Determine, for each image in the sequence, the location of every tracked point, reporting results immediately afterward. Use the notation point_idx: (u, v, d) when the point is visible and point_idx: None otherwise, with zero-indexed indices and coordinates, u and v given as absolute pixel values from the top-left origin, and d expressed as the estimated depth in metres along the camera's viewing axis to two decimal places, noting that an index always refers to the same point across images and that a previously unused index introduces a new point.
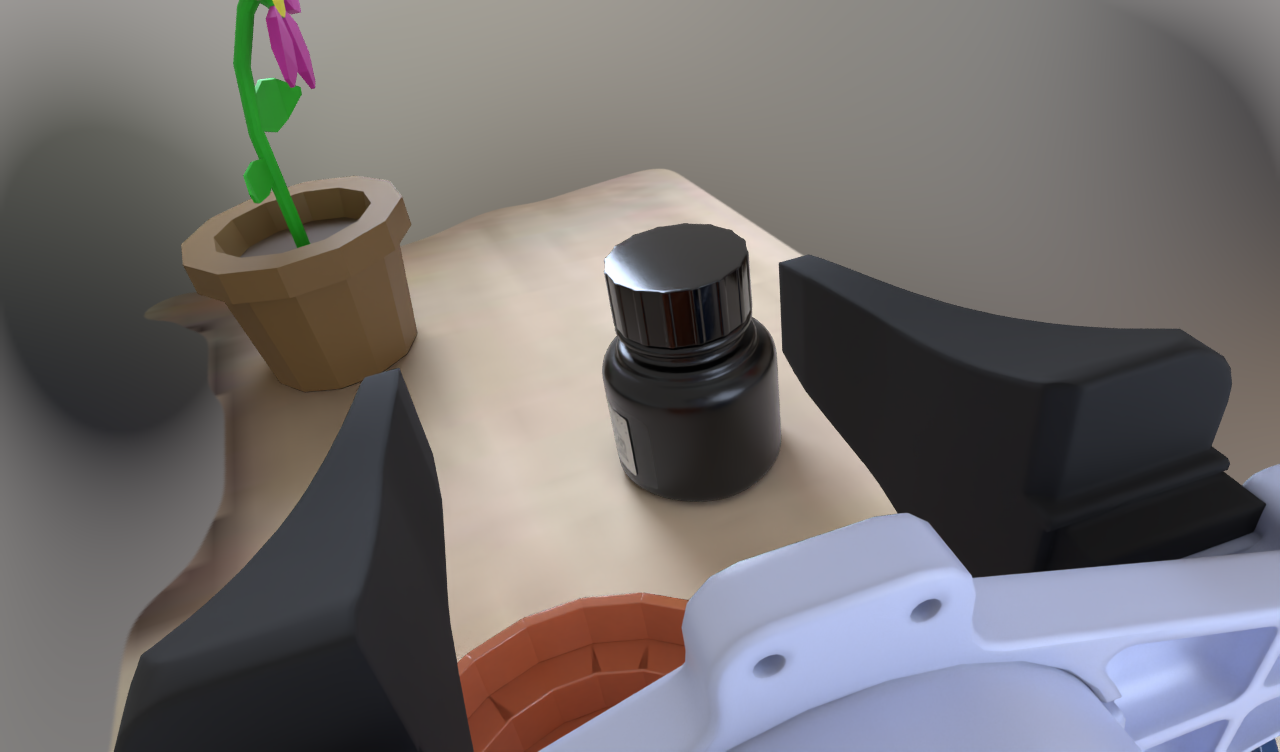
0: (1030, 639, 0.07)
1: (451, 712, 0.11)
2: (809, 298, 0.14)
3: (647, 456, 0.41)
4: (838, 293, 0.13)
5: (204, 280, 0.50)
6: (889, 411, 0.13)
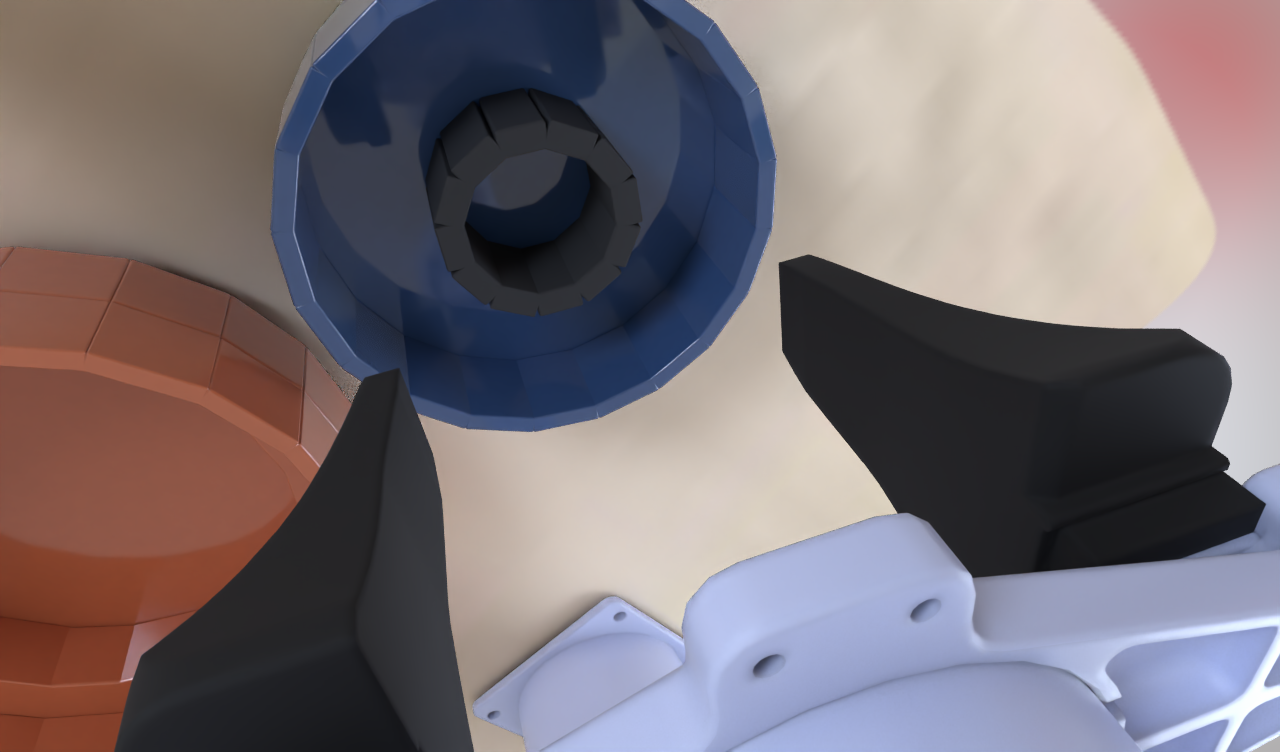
0: (1030, 637, 0.07)
1: (451, 712, 0.11)
2: (809, 298, 0.14)
3: None
4: (838, 293, 0.13)
5: None
6: (889, 411, 0.13)
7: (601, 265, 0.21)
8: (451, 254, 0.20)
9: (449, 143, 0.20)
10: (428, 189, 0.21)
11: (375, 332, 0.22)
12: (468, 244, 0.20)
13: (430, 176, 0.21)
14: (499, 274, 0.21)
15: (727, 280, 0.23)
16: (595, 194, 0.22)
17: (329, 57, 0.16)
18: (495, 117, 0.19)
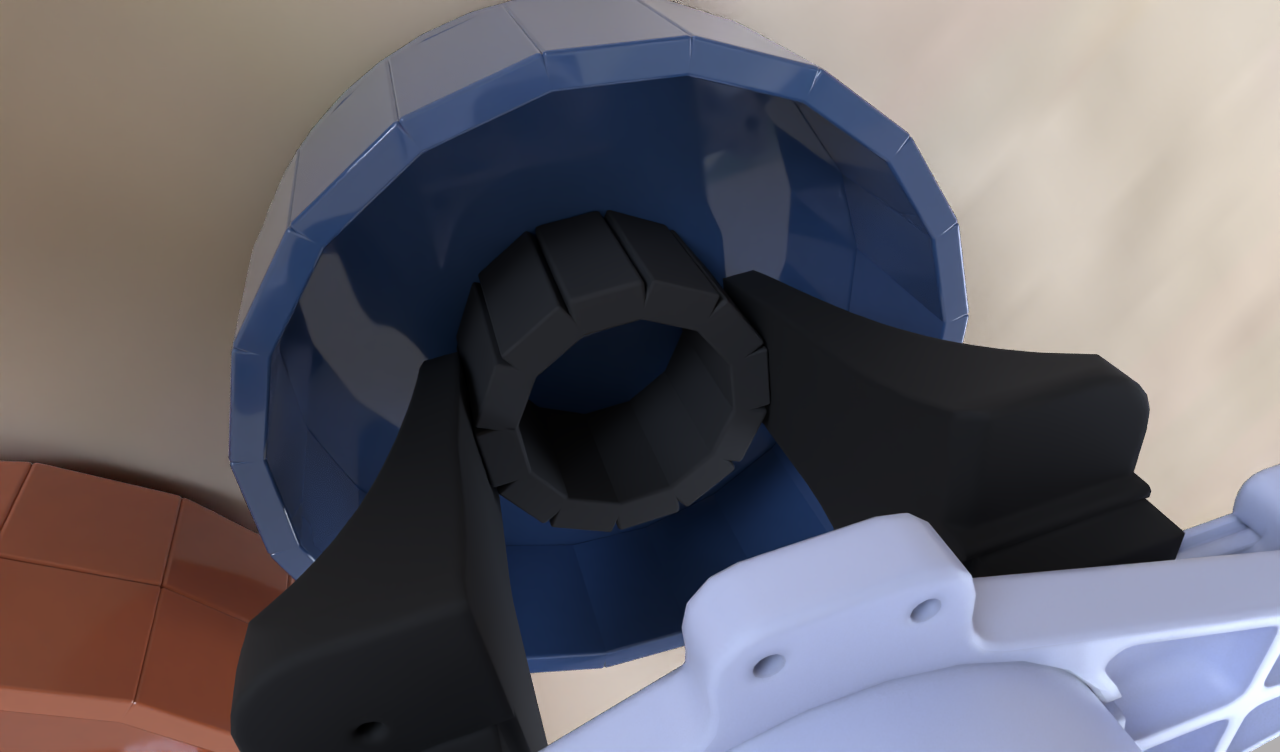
0: (1029, 637, 0.07)
1: (526, 686, 0.11)
2: (750, 315, 0.14)
3: None
4: (774, 311, 0.13)
5: None
6: (824, 431, 0.13)
7: (708, 462, 0.15)
8: (498, 465, 0.13)
9: (495, 301, 0.13)
10: (462, 358, 0.14)
11: None
12: (523, 450, 0.13)
13: (464, 338, 0.14)
14: (562, 471, 0.15)
15: None
16: (692, 348, 0.16)
17: (318, 214, 0.10)
18: (566, 270, 0.13)
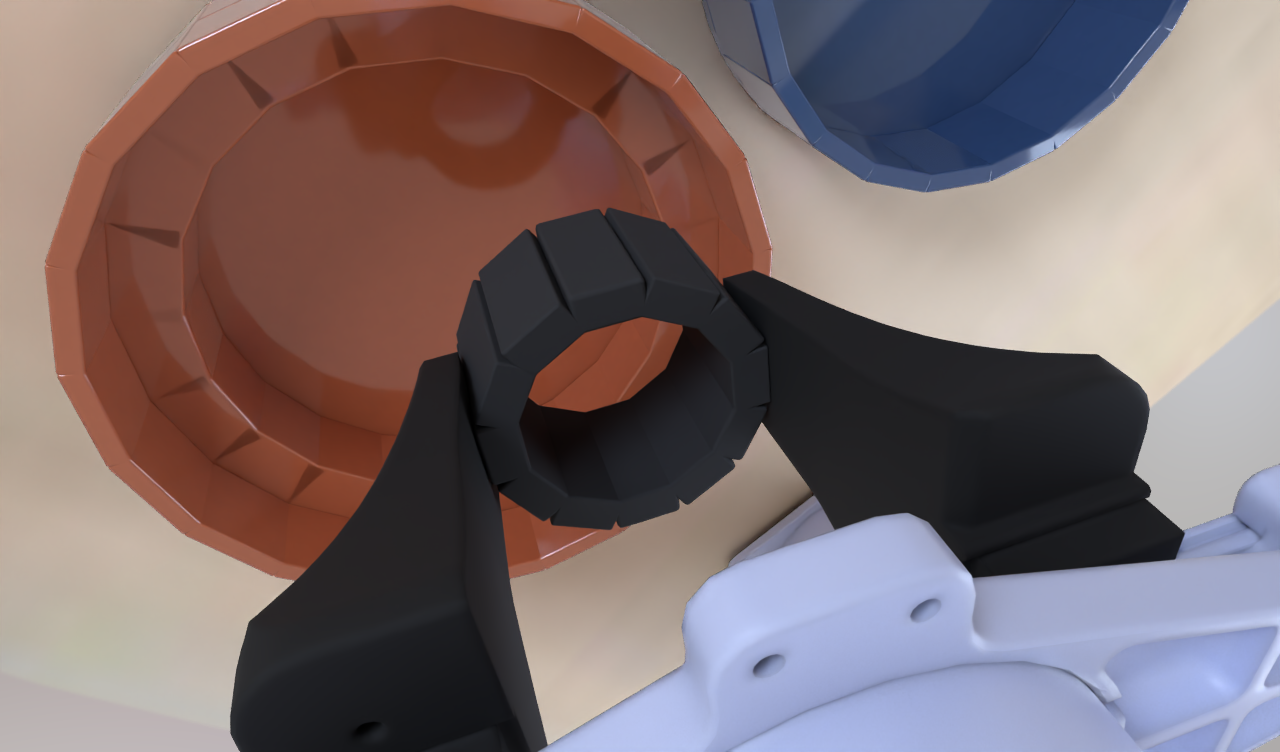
0: (1029, 637, 0.07)
1: (526, 687, 0.11)
2: (749, 315, 0.14)
3: None
4: (774, 311, 0.13)
5: None
6: (824, 431, 0.13)
7: (709, 460, 0.15)
8: (498, 463, 0.13)
9: (495, 299, 0.13)
10: (462, 356, 0.14)
11: None
12: (523, 448, 0.13)
13: (464, 336, 0.14)
14: (562, 470, 0.15)
15: (1143, 22, 0.21)
16: (692, 346, 0.16)
17: None
18: (566, 267, 0.13)
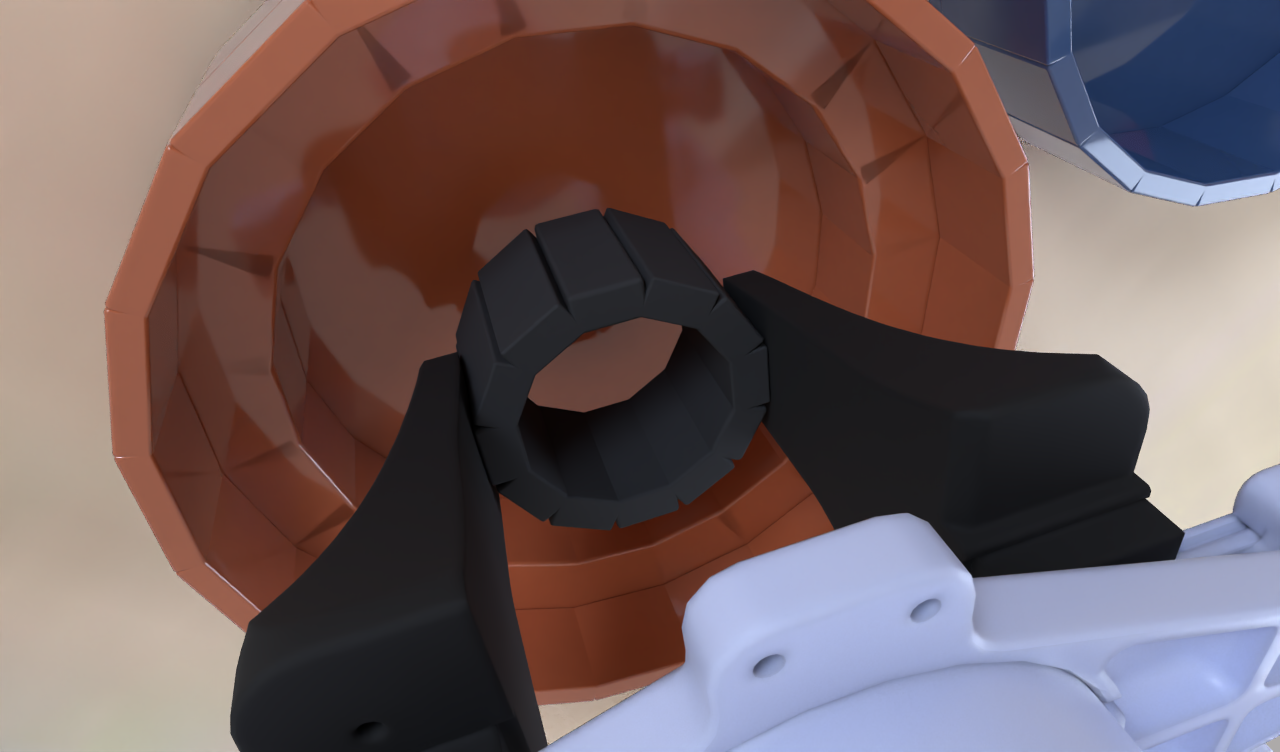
0: (1029, 637, 0.07)
1: (526, 686, 0.11)
2: (750, 315, 0.14)
3: None
4: (774, 311, 0.13)
5: None
6: (824, 431, 0.13)
7: (708, 460, 0.15)
8: (497, 463, 0.13)
9: (494, 299, 0.13)
10: (461, 356, 0.14)
11: None
12: (522, 449, 0.13)
13: (464, 337, 0.14)
14: (561, 470, 0.15)
15: None
16: (692, 346, 0.16)
17: None
18: (566, 268, 0.13)
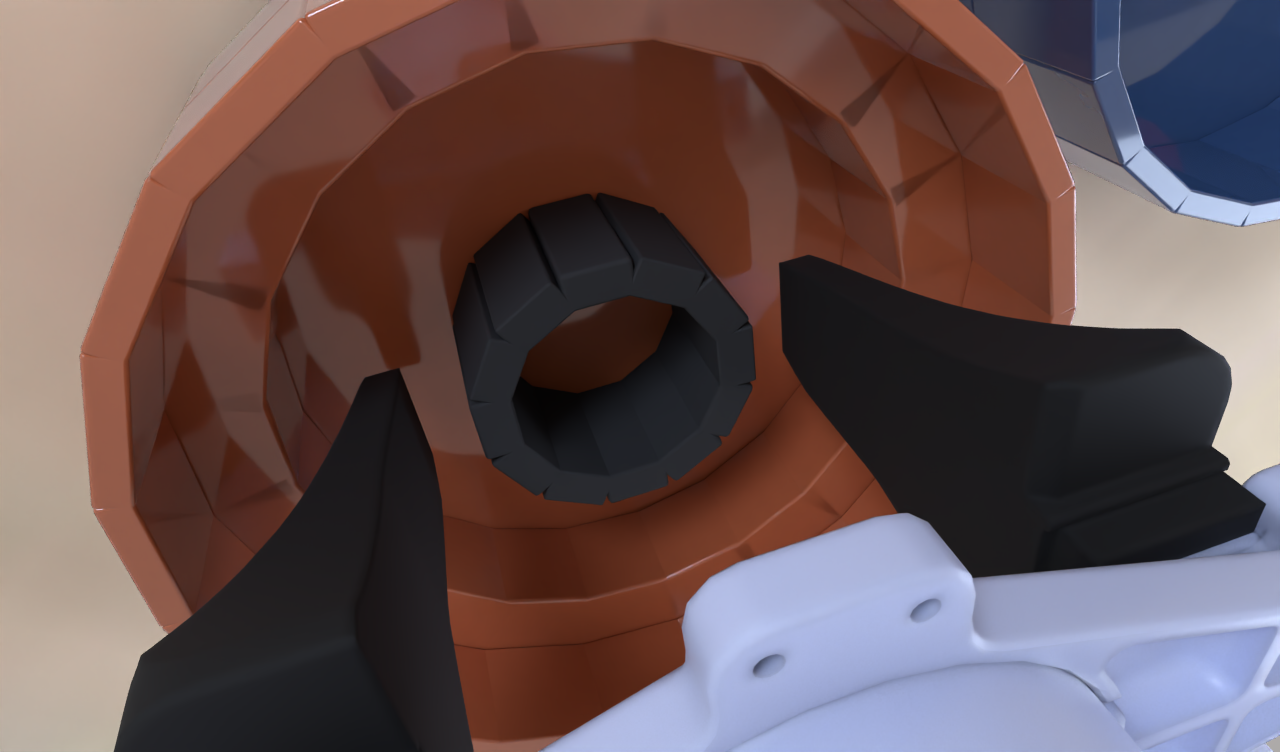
0: (1029, 637, 0.07)
1: (451, 712, 0.11)
2: (809, 298, 0.14)
3: None
4: (838, 293, 0.13)
5: None
6: (889, 411, 0.13)
7: (696, 437, 0.15)
8: (492, 438, 0.14)
9: (489, 279, 0.14)
10: (457, 336, 0.15)
11: None
12: (516, 423, 0.14)
13: (460, 317, 0.15)
14: (555, 447, 0.15)
15: None
16: (681, 328, 0.16)
17: None
18: (557, 248, 0.13)
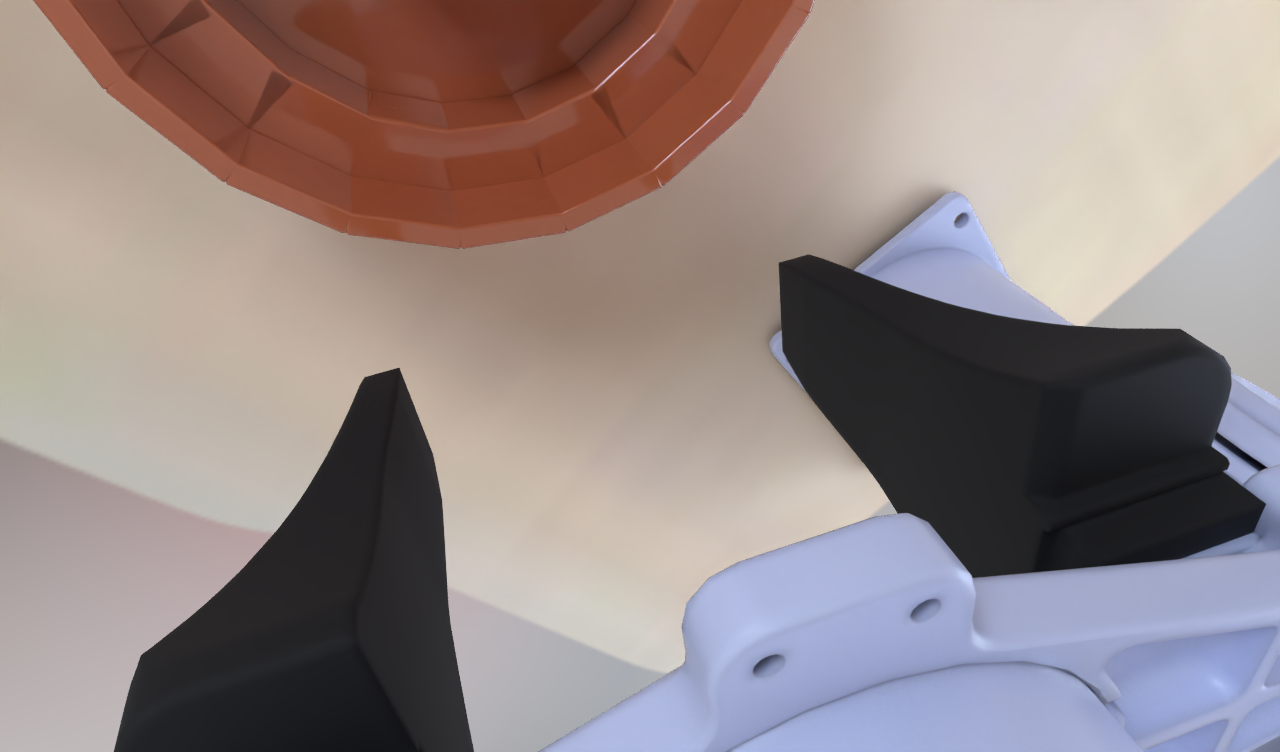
0: (1029, 637, 0.07)
1: (451, 712, 0.11)
2: (809, 298, 0.14)
3: None
4: (838, 293, 0.13)
5: None
6: (889, 411, 0.13)
7: None
8: None
9: None
10: None
11: None
12: None
13: None
14: None
15: None
16: None
17: None
18: None
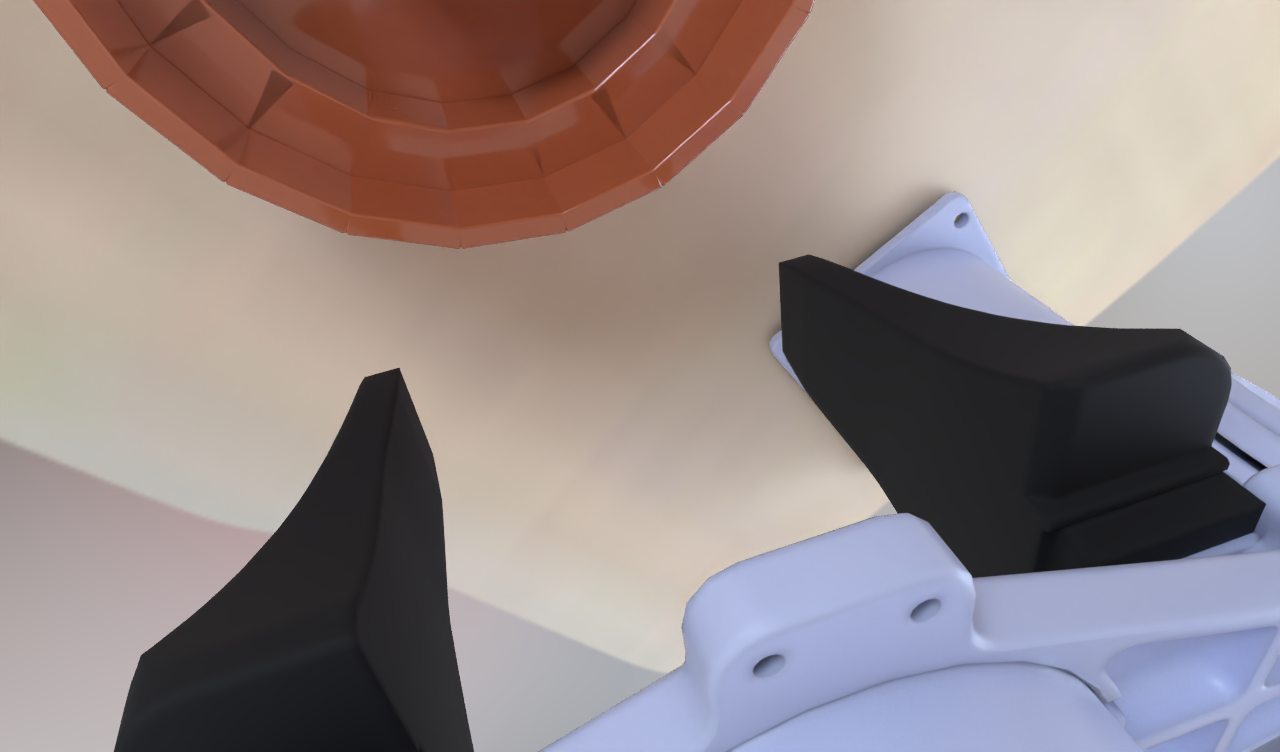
0: (1029, 637, 0.07)
1: (451, 712, 0.11)
2: (809, 298, 0.14)
3: None
4: (838, 293, 0.13)
5: None
6: (889, 411, 0.13)
7: None
8: None
9: None
10: None
11: None
12: None
13: None
14: None
15: None
16: None
17: None
18: None
